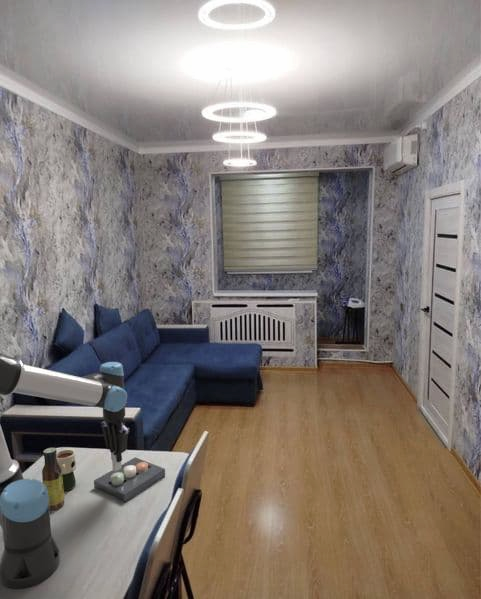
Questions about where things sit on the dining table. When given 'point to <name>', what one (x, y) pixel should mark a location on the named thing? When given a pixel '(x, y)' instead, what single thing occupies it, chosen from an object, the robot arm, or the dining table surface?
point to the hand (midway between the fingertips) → (117, 469)
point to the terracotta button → (142, 466)
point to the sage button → (117, 479)
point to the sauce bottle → (53, 479)
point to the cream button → (130, 471)
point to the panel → (130, 481)
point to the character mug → (67, 467)
